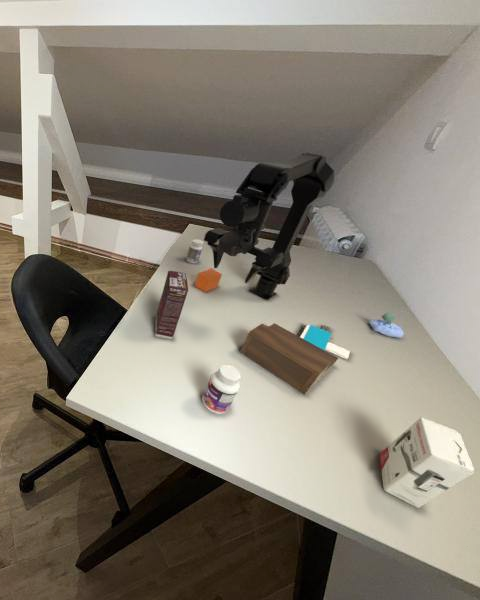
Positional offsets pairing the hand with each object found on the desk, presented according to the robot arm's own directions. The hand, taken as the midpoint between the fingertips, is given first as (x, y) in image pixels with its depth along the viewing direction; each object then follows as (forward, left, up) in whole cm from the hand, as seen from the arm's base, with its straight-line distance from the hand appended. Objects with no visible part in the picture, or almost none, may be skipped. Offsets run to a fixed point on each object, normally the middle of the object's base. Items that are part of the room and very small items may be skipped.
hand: (230, 275), depth 85 cm
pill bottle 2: (+28, +19, -14) cm, 37 cm away
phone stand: (-15, +24, -14) cm, 32 cm away
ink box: (+14, +47, -14) cm, 51 cm away
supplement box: (+18, -4, -14) cm, 23 cm away
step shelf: (+1, +21, -14) cm, 25 cm away
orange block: (-13, -12, -14) cm, 23 cm away
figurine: (-40, +32, -14) cm, 53 cm away
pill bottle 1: (-25, -27, -14) cm, 39 cm away
